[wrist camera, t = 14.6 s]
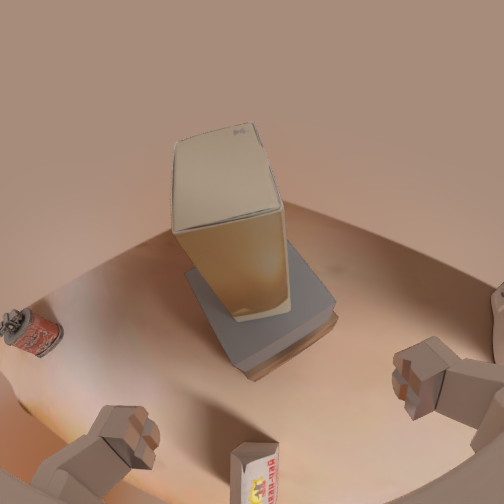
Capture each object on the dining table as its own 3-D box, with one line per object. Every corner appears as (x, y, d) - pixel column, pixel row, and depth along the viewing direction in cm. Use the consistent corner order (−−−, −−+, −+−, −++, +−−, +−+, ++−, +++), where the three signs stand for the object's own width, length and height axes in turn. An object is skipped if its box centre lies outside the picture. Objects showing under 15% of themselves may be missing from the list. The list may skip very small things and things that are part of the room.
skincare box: (225, 255, 23) (172, 137, 13) (275, 244, 23) (253, 116, 13) (236, 327, 20) (165, 234, 9) (293, 315, 19) (286, 205, 9)
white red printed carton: (242, 494, 19) (217, 531, 11) (243, 441, 23) (217, 461, 14) (277, 495, 19) (267, 535, 10) (278, 442, 22) (270, 465, 14)
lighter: (60, 320, 33) (15, 295, 25) (65, 338, 32) (17, 314, 23) (34, 345, 32) (-9, 324, 23) (39, 361, 30) (-7, 343, 22)
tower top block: (277, 250, 28) (273, 222, 24) (329, 319, 24) (336, 301, 20) (202, 295, 27) (184, 273, 23) (245, 372, 22) (233, 365, 18)
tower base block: (281, 265, 33) (278, 243, 29) (332, 330, 28) (338, 317, 24) (211, 309, 31) (197, 294, 27) (255, 381, 26) (247, 378, 22)
